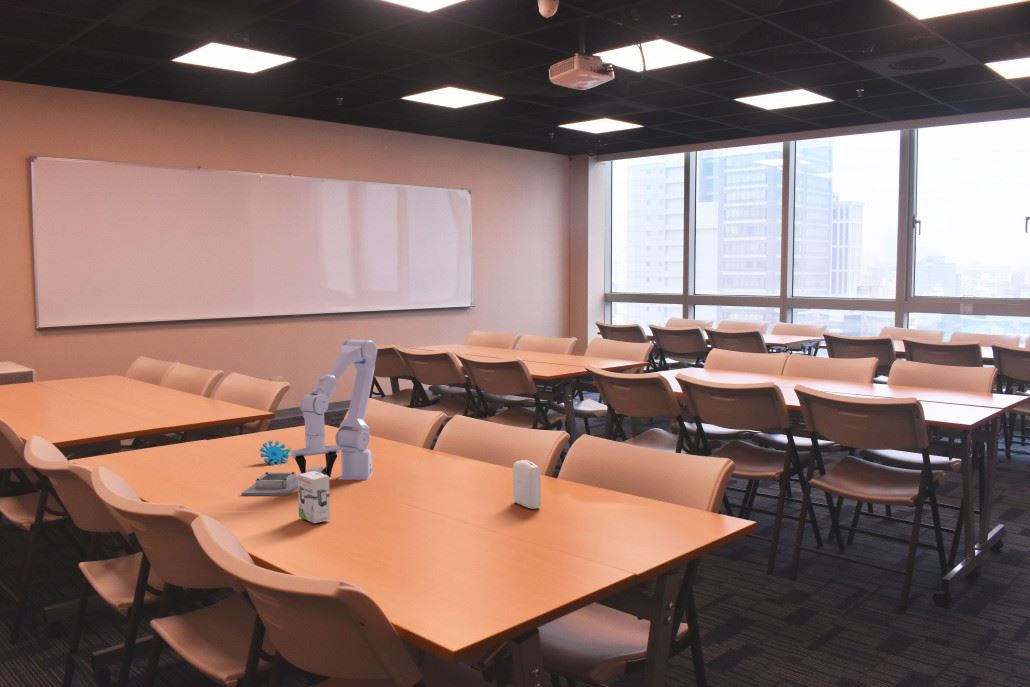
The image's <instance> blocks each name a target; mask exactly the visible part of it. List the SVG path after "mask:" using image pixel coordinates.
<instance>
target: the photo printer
mask: <svg viewBox="0 0 1030 687" xmlns="http://www.w3.org/2000/svg"><path fill="white" fill-rule="evenodd" d="M541 485H542V484H541V470H540V467H538V465H537V464H535V463H534V462H532V461H530V460H526V459H522V460H517V461H515V462H514V464H513V467H512V492H513V493H512V495H513V497H512V498H513V502H514V503H516V504H518V505H521V506H523V507H525V508H528V509H533V510H535V509H539V508H540V507H541V505H542V495H541V494H542V491H541V490H542V488H541Z"/></svg>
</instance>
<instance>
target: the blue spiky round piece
mask: <svg viewBox="0 0 1030 687" xmlns="http://www.w3.org/2000/svg"><path fill="white" fill-rule="evenodd" d="M279 444H280V441H278V440H276V441H275V443H274V445H273V440H268V442H264V443H263V444H262V447H260V449H259V452H260V458H264V459H263V461H264V463H268V462H270V463H269V465H270V466H274V465H275V462H276V461H277V463H276V465H277V466H278V465H282V464H285V463H287V461H288V459H289V458H290V455H289V453H291V450H292V448H291V447H288V448H286V445H285V444H284V443H281V445H279ZM281 460H282V462H281Z"/></svg>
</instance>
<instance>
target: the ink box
mask: <svg viewBox="0 0 1030 687" xmlns="http://www.w3.org/2000/svg"><path fill="white" fill-rule="evenodd" d="M297 477H298V488H297V489H298V490H297V491H298V493H297V494H298V495H297V496H298V517H299V518H301V519H303V520H306V521H308V522H311V523H313V524H317V523H321V522H327V521H330V520H331V503H330V502H331V501H330V499H331V498H330V496H331V495H330V477H328V476H327V475H324V474H322V473H319V472H316V471H311V472H307V473H303V474H301V473H299V474H297Z"/></svg>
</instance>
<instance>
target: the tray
mask: <svg viewBox="0 0 1030 687" xmlns="http://www.w3.org/2000/svg"><path fill="white" fill-rule="evenodd" d="M296 475H297V474H296V472H295V471H291V472H269V471H266V472H265V473H264V474H263V475H261V476H260V477H257V478H256V480H254V481H255V483H253V484H252V485H251V486H249V487H248V488H246V489H245V490H244V491H242V492H241V496H244V497H245V496H252V497H253V496H254V497H255V496H256V497H257V496H264V497H265V496H268V497H270V496H273V497H274V496H280V497H281V496H283V497H284V496H285V497H287V496H291V495H292V493H294V492H295V491H296V490H297V489H298V476H296Z"/></svg>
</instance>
